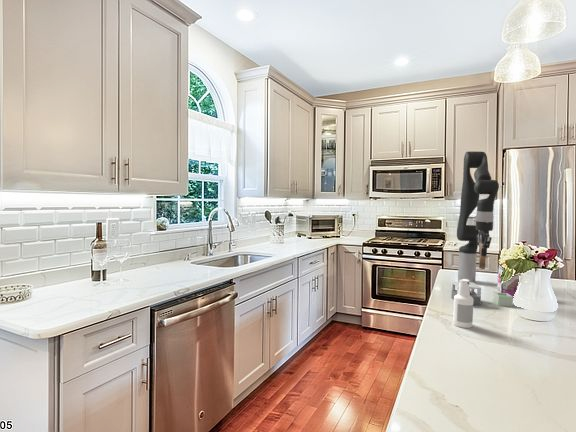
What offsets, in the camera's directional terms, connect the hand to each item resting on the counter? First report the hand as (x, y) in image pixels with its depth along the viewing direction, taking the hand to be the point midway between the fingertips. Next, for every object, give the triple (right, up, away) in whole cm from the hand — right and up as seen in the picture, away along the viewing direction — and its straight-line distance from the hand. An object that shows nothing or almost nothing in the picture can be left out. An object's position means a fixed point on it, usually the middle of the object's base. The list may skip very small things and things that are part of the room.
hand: (482, 255), depth 176 cm
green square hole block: (+4, -22, -9) cm, 24 cm away
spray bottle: (-28, -24, -36) cm, 52 cm away
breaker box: (-11, -21, -6) cm, 25 cm away
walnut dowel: (0, -7, +1) cm, 7 cm away
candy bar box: (+17, -21, +5) cm, 27 cm away
